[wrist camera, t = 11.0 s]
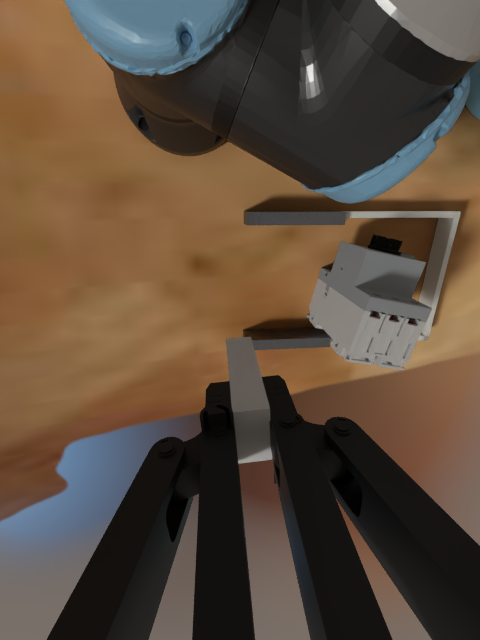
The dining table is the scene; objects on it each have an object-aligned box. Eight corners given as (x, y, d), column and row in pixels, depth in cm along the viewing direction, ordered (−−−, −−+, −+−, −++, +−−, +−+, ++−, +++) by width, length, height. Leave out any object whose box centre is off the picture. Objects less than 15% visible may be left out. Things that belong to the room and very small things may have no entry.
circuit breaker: (380, 237, 44) (458, 252, 30) (348, 324, 49) (402, 372, 35) (334, 226, 43) (392, 237, 29) (306, 316, 48) (344, 363, 34)
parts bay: (334, 211, 42) (343, 211, 39) (445, 210, 43) (461, 211, 41) (320, 336, 49) (327, 344, 46) (416, 332, 51) (427, 340, 48)
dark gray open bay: (243, 211, 41) (247, 211, 37) (334, 211, 42) (346, 211, 38) (243, 339, 48) (245, 350, 44) (320, 336, 49) (329, 346, 46)
